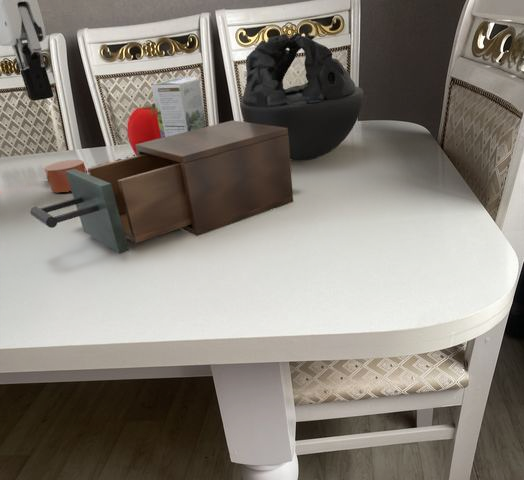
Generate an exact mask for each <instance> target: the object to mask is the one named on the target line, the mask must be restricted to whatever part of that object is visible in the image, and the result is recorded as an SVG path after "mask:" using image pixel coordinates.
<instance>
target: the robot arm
mask: <svg viewBox="0 0 524 480" xmlns="http://www.w3.org/2000/svg"><path fill="white" fill-rule="evenodd" d="M46 37H47V33H46V27H45V24H44V19H43V16H42V12H41V9H40V6H39V2H38V0H0V46H1V47H12V50H13V54H14V56H15V58H16V61H17V63H18V67H19V69H20V70H19V71H20V75H21V77H22V81H23V83H24V87H25V90H26V94H27V96H28V99H29V100H30V101H33V102H35V101H42V100H47V99H52V98H54V92H53V89H52V85H51V82H50V78H49V75H48V72H47V68H46V65H45V60H44V57H43V51H42V46H41V43H42V42H43V41H45V39H46ZM23 41H26V42H23Z"/></svg>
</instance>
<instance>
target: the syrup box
mask: <svg viewBox="0 0 524 480" xmlns="http://www.w3.org/2000/svg"><path fill="white" fill-rule="evenodd" d="M151 91H152V97H153V102H154V104H155V107H156V112H157V118H158V123H159V128H160V134H161V138H164V137H168V136H172V135H176V134H180V133H184V132H188V131H192V130H196V129H200V128H204V127H207V124H206V117H205V110H204V102H203V97H202V96H203V95H202V88H201V81H200V78H198V77H190V76H189V77H187V76H186V77H183V76H182V77H181V76H180V77H174V78H170V79H167V80H164V81H161V82H160V81H159V82H157V83H154V84H151Z"/></svg>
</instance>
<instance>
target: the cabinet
mask: <svg viewBox="0 0 524 480" xmlns="http://www.w3.org/2000/svg"><path fill="white" fill-rule="evenodd" d="M135 146H136V150H137V155H142V154H145V153H147V154H151V155H155V156H158V157H162V158H166V159H169V160H173V161H177V162H181V168H182V174H183V179H184V184H185V189H186V195H187V200H188V205H189V211H190V216H191V221H192V224H191V225H188V226H185V227H182V228H179V229H181V230H183V231H184V232H187V233H189V234H192V235H193V236H195V237H199V236H202V235H205V234H207V233H210V232H213V231H216V230H219V229H222V228H225V227H227V226H229V225H232V224H235V223H239V222H241V221H243V220H247V219H249V218H252V217H255V216H258V215H261V214H263V213H266V212H269V211H272V210H274V208H275V209H277V208H280V207H283V206H286V205H289V204H292V203H293V202H294V193H293V178H292V165H291V160H290V151H289V138H288V128H284V127H277V126H270V125H262V124H255V123H247V122H245V121H239V120H234V119H233V120H229V121H225V122H220V123H217V124H213V125H210V126H209V125H208V126H206V127H204V128H200V129H196V130H192V131H188V132H184V133H180V134H176V135H172V136H168V137H164V138H160V139H156V140H152V141H148V142H144V143H140V144H136V145H135ZM288 203H289V204H288ZM285 204H286V205H285ZM271 209H272V210H271Z"/></svg>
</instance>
